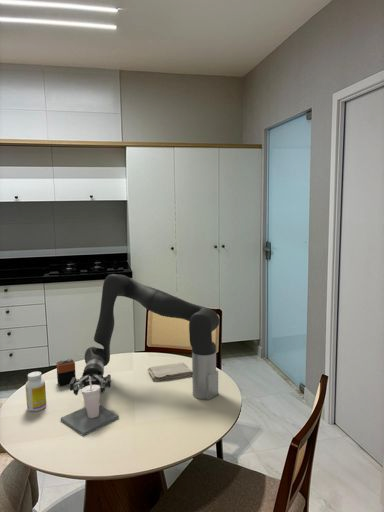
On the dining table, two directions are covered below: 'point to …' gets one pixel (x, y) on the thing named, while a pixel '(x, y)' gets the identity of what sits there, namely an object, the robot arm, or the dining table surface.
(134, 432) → the dining table surface
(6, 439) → the dining table surface
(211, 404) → the dining table surface
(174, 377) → the washcloth
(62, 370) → the battery
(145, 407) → the dining table surface
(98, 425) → the coaster
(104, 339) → the robot arm
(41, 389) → the supplement bottle
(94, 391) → the smoothie
